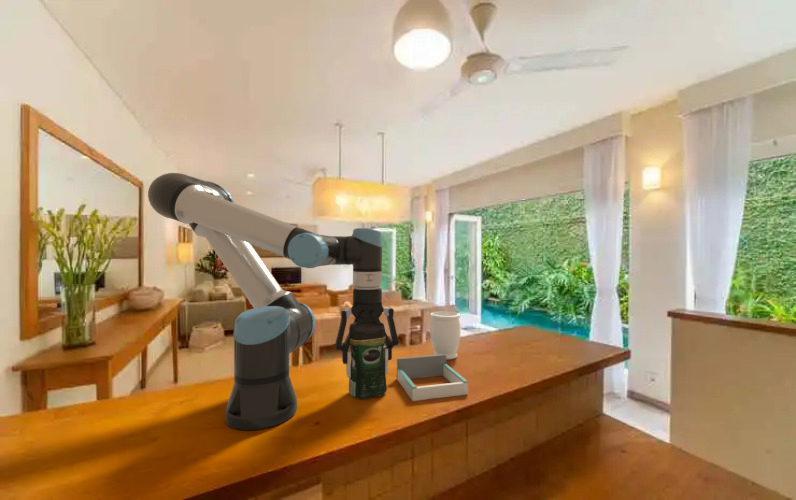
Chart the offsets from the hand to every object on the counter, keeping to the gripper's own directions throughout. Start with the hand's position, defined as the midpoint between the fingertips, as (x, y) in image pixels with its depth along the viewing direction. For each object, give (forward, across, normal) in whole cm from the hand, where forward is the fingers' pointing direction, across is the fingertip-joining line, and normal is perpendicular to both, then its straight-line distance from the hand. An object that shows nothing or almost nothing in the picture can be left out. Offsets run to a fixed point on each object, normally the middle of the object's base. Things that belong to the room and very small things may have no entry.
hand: (367, 374), depth 88 cm
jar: (+5, +32, +24) cm, 40 cm away
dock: (+5, +18, 0) cm, 18 cm away
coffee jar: (+5, 0, 0) cm, 5 cm away
